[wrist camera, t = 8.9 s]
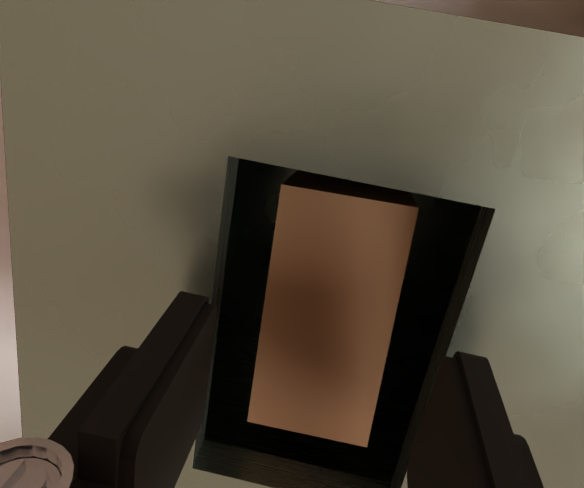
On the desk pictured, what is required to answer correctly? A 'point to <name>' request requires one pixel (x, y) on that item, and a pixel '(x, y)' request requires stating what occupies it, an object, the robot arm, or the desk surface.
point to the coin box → (265, 197)
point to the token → (330, 305)
